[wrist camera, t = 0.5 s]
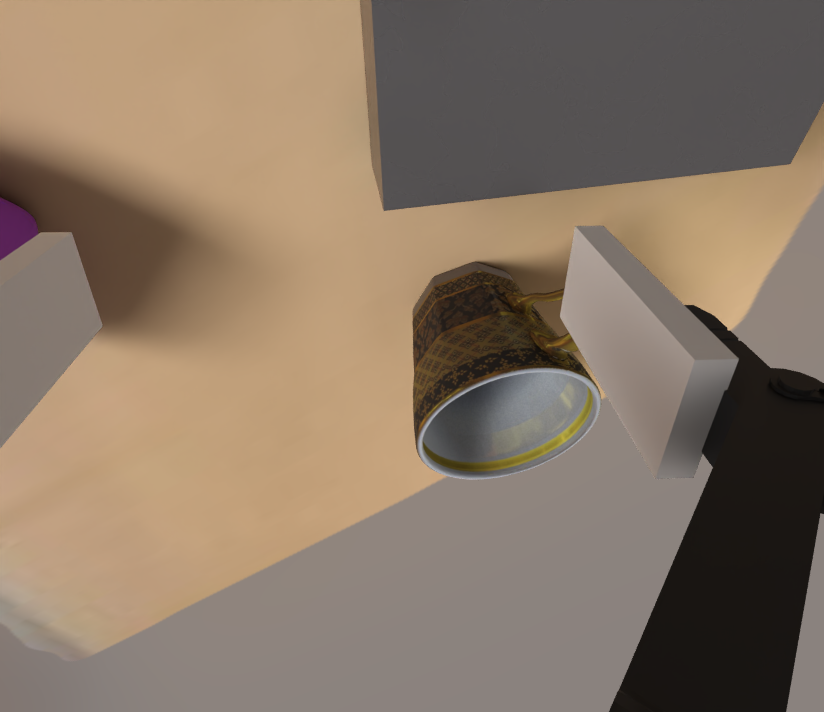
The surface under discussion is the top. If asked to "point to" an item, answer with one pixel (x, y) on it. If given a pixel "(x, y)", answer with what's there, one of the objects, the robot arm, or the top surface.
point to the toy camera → (14, 227)
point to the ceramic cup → (493, 378)
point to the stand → (582, 92)
